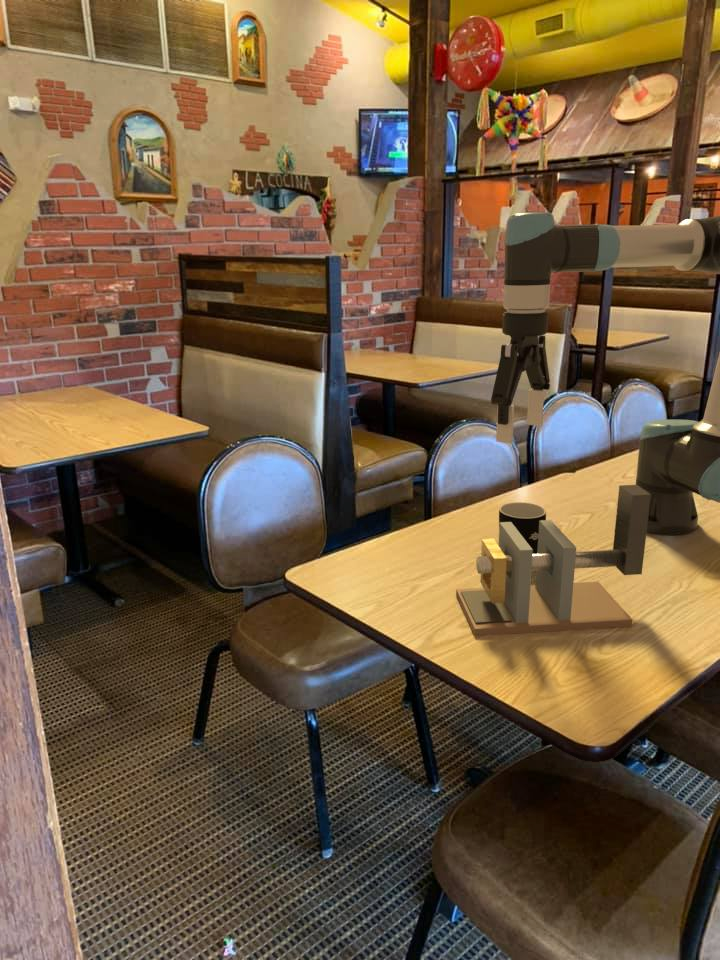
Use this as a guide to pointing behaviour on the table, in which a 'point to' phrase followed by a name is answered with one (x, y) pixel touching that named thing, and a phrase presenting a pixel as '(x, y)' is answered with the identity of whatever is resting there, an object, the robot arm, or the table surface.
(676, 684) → the table surface
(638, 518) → the shaft
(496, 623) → the bearing block
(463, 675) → the table surface
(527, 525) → the mug
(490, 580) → the ring
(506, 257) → the robot arm
